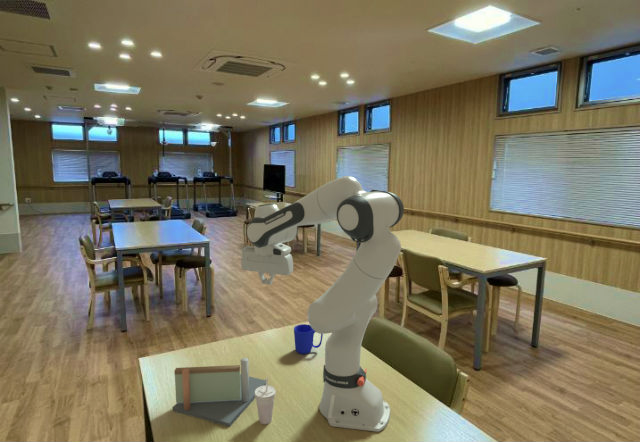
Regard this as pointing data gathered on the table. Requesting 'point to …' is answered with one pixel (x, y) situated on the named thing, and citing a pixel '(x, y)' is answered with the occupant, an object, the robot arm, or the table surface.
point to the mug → (304, 338)
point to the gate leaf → (210, 383)
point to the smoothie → (265, 402)
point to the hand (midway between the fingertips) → (266, 283)
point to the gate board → (223, 409)
